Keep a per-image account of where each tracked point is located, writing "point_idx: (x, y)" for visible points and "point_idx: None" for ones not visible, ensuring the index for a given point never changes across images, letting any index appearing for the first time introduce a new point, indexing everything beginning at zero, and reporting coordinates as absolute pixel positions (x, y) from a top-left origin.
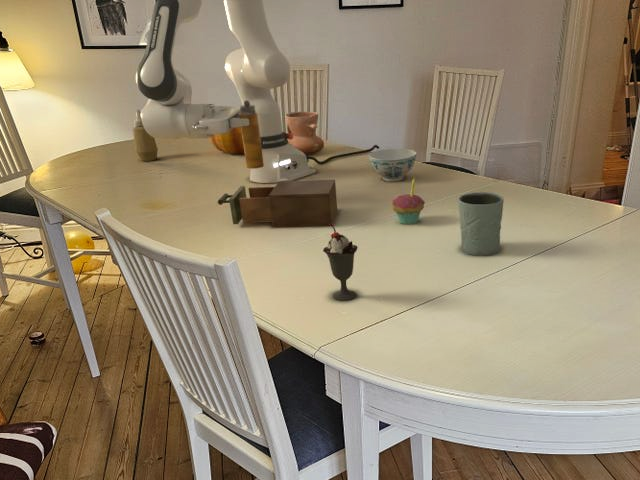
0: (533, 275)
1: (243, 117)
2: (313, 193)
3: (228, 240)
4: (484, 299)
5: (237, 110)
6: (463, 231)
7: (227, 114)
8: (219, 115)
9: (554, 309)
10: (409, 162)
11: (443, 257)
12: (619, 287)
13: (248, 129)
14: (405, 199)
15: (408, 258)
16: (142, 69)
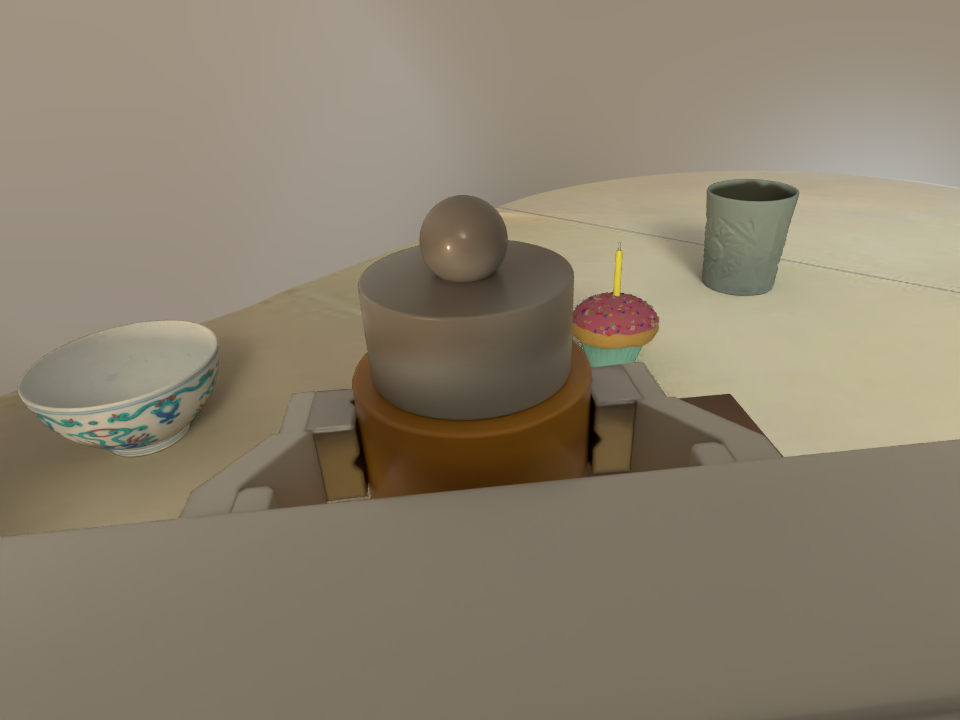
0: (812, 248)
1: (590, 397)
2: (753, 428)
3: None
4: (945, 270)
5: (153, 524)
6: (775, 254)
7: (648, 523)
8: (802, 647)
9: (913, 237)
10: (204, 342)
11: (808, 307)
12: (798, 214)
13: None
14: (640, 302)
15: (851, 338)
16: None
